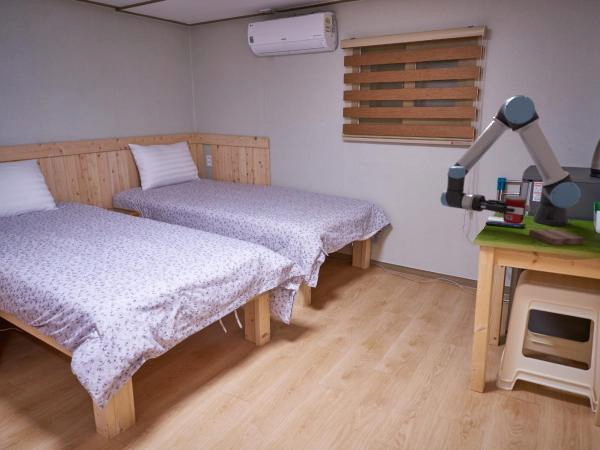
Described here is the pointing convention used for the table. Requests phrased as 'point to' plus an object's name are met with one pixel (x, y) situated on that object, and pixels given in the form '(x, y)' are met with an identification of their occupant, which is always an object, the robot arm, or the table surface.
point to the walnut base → (555, 237)
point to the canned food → (514, 202)
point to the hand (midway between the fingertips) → (526, 210)
